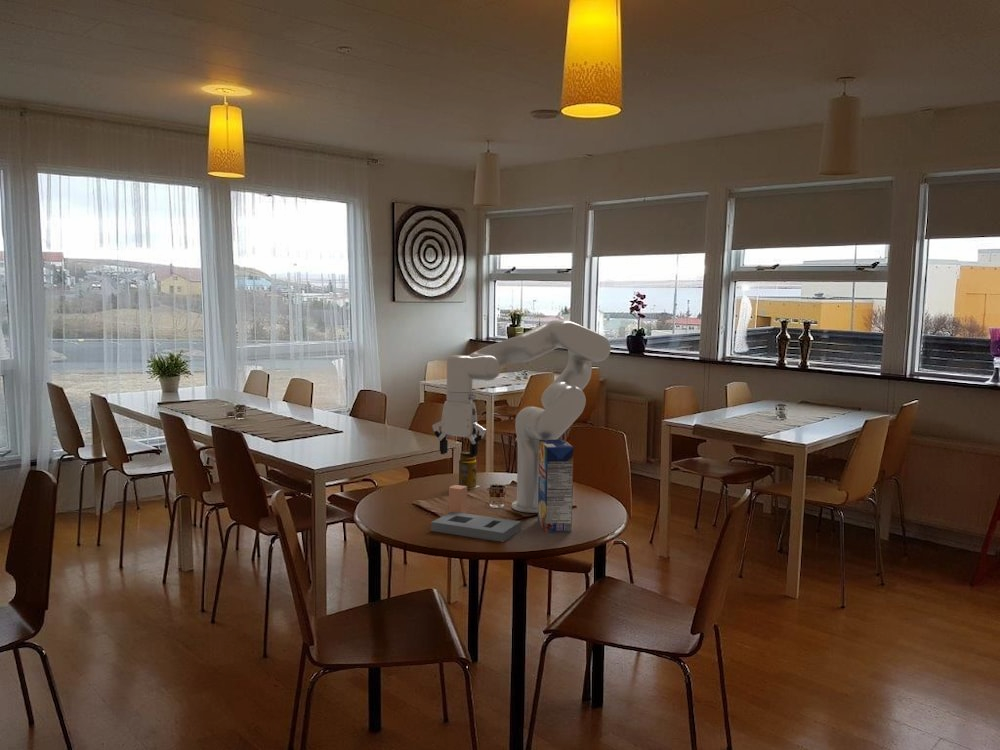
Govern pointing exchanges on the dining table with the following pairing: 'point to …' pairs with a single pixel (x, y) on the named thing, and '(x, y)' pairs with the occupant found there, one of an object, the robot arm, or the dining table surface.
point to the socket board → (476, 526)
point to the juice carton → (555, 485)
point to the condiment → (467, 470)
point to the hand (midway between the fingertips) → (458, 455)
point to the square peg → (458, 499)
